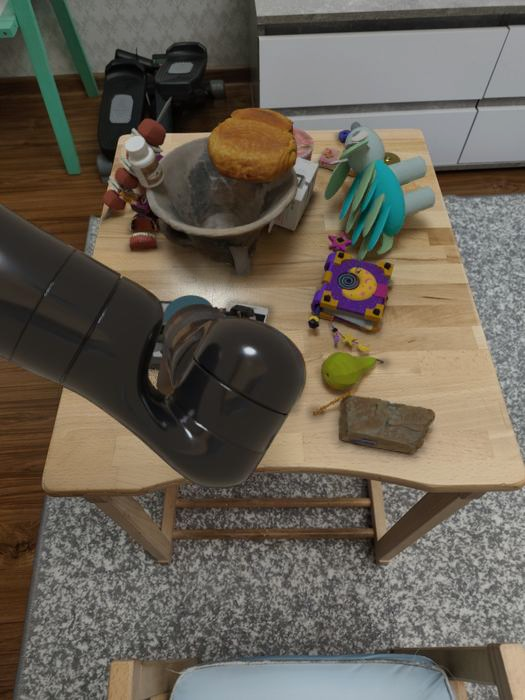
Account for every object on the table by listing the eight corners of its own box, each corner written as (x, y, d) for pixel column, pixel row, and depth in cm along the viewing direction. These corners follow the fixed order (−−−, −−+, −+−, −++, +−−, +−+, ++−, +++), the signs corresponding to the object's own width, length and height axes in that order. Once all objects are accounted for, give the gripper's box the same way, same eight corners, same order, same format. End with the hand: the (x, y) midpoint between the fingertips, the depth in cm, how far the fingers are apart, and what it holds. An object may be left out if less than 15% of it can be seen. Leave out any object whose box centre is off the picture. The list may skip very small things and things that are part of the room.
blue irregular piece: (334, 137, 114) (335, 127, 112) (348, 129, 115) (349, 119, 113) (362, 157, 110) (364, 147, 108) (376, 148, 112) (379, 138, 109)
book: (294, 337, 84) (299, 295, 74) (329, 238, 97) (336, 190, 86) (376, 359, 82) (392, 318, 72) (400, 255, 94) (417, 207, 84)
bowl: (223, 176, 107) (218, 113, 94) (319, 231, 98) (327, 169, 85) (133, 245, 96) (113, 184, 83) (231, 313, 87) (226, 257, 74)
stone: (428, 420, 76) (437, 404, 72) (427, 459, 73) (437, 445, 68) (339, 404, 78) (343, 388, 74) (334, 441, 75) (338, 427, 70)
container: (309, 191, 104) (312, 160, 97) (261, 188, 104) (261, 157, 98) (311, 160, 109) (315, 128, 102) (266, 157, 110) (266, 125, 103)
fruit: (314, 350, 78) (370, 334, 83) (313, 383, 80) (368, 365, 86) (339, 366, 73) (397, 347, 78) (337, 400, 75) (393, 380, 81)
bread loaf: (197, 148, 76) (199, 185, 83) (293, 169, 75) (287, 204, 82) (219, 89, 82) (220, 128, 89) (308, 108, 81) (301, 146, 89)
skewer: (105, 224, 104) (175, 97, 93) (114, 236, 102) (187, 108, 91) (84, 217, 100) (155, 84, 89) (93, 230, 98) (167, 95, 87)
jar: (170, 368, 63) (159, 335, 56) (177, 329, 66) (167, 293, 59) (217, 371, 62) (211, 338, 56) (222, 332, 66) (217, 296, 59)
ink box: (312, 195, 104) (289, 242, 97) (291, 188, 104) (267, 234, 97) (320, 163, 96) (296, 211, 89) (297, 155, 97) (271, 203, 90)
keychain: (315, 414, 77) (315, 418, 77) (311, 409, 77) (311, 413, 76) (355, 391, 74) (356, 395, 73) (352, 386, 74) (352, 390, 73)
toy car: (139, 193, 88) (132, 217, 89) (177, 204, 99) (171, 226, 100) (117, 184, 90) (110, 207, 91) (157, 196, 101) (150, 217, 102)
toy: (318, 158, 107) (326, 145, 109) (317, 165, 108) (325, 153, 111) (370, 174, 104) (377, 160, 106) (369, 181, 106) (375, 168, 108)
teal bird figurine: (422, 92, 85) (337, 113, 80) (454, 233, 90) (377, 261, 85) (378, 120, 98) (303, 140, 93) (409, 242, 103) (339, 266, 98)
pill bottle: (155, 191, 82) (137, 156, 75) (135, 185, 83) (116, 149, 77) (169, 173, 83) (153, 136, 76) (149, 167, 85) (131, 130, 78)
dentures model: (124, 238, 91) (127, 209, 96) (129, 253, 95) (132, 225, 99) (154, 238, 92) (156, 208, 96) (157, 253, 95) (159, 224, 100)
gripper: (266, 291, 46) (236, 279, 62) (115, 330, 43) (125, 308, 59) (282, 364, 48) (249, 334, 63) (139, 406, 45) (142, 364, 61)
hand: (189, 322), depth 61 cm, fingers closed on jar, 6 cm apart
